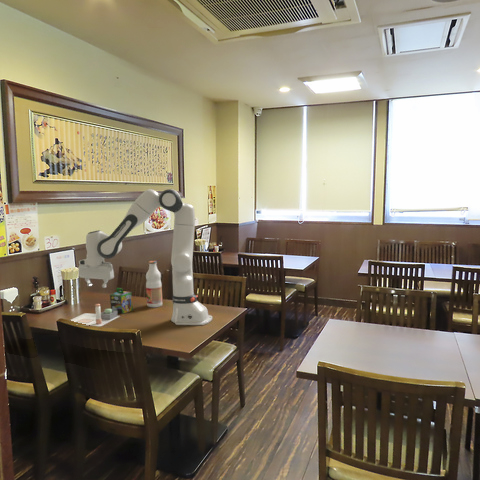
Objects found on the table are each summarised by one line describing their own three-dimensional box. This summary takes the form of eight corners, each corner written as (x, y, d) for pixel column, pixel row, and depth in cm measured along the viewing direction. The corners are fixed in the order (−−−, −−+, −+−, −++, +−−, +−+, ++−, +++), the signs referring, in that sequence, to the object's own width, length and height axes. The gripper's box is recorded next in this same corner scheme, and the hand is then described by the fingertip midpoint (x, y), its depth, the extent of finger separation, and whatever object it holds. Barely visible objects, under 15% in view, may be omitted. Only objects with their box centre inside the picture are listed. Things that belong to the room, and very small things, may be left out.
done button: (113, 313, 220) (113, 308, 219) (109, 315, 216) (108, 310, 216) (107, 313, 221) (107, 308, 221) (103, 315, 217) (103, 310, 217)
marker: (102, 322, 210) (101, 303, 209) (99, 324, 207) (98, 305, 206) (98, 322, 211) (97, 303, 209) (95, 324, 208) (93, 305, 207)
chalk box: (133, 310, 233) (131, 286, 231) (122, 314, 225) (120, 290, 223) (121, 308, 237) (120, 285, 236) (110, 313, 229) (108, 288, 227)
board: (120, 316, 221) (120, 310, 221) (100, 327, 204) (100, 320, 204) (85, 314, 228) (84, 308, 228) (63, 324, 211) (62, 317, 211)
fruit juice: (159, 307, 237) (157, 262, 234) (144, 307, 239) (142, 262, 235) (164, 303, 246) (162, 260, 243) (150, 303, 248) (148, 260, 245)
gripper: (116, 261, 205) (117, 286, 207) (84, 259, 212) (85, 284, 213) (108, 263, 199) (109, 289, 201) (75, 261, 206) (77, 286, 207)
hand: (96, 286), depth 207 cm, fingers open, 8 cm apart
